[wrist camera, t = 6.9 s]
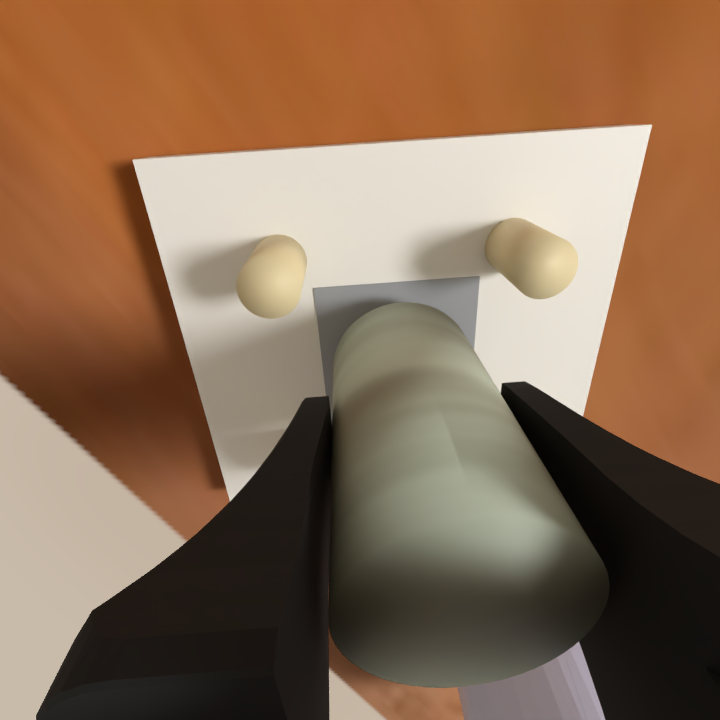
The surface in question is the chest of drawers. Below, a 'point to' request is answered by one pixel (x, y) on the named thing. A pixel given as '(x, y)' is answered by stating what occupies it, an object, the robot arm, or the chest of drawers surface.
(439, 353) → the peg
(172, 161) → the base plate
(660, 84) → the chest of drawers surface
